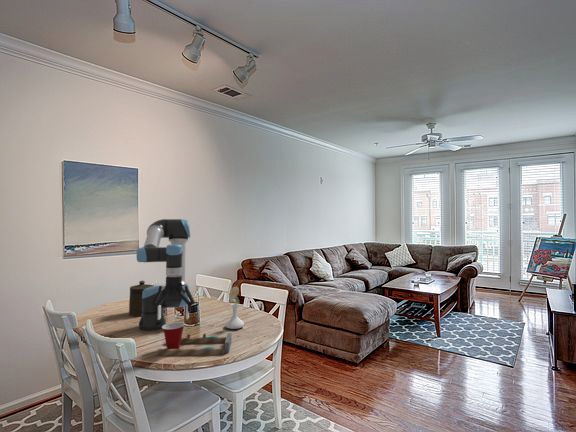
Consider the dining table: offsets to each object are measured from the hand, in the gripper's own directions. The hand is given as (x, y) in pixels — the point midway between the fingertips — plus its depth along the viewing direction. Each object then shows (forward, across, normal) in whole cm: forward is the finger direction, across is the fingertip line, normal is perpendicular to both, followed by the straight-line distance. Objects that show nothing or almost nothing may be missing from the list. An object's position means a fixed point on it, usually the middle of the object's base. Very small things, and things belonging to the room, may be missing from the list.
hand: (173, 318), depth 162 cm
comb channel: (+15, +10, 0) cm, 18 cm away
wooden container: (+14, -37, +62) cm, 74 cm away
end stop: (+15, +27, 0) cm, 31 cm away
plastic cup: (+15, 0, 0) cm, 15 cm away
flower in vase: (+15, +28, +30) cm, 44 cm away
